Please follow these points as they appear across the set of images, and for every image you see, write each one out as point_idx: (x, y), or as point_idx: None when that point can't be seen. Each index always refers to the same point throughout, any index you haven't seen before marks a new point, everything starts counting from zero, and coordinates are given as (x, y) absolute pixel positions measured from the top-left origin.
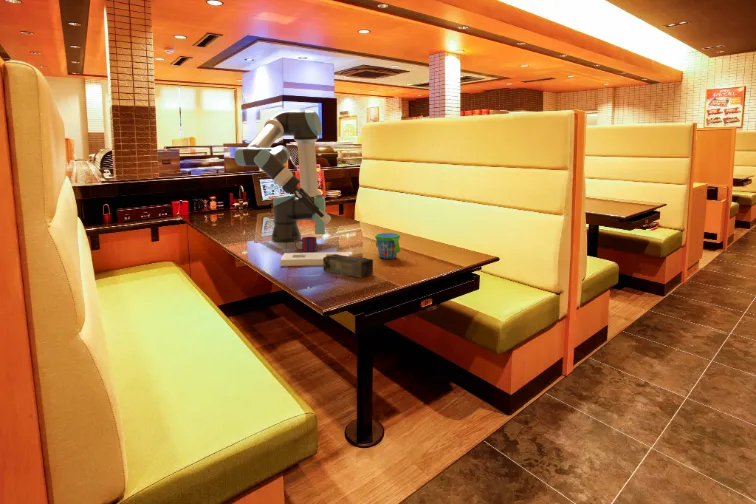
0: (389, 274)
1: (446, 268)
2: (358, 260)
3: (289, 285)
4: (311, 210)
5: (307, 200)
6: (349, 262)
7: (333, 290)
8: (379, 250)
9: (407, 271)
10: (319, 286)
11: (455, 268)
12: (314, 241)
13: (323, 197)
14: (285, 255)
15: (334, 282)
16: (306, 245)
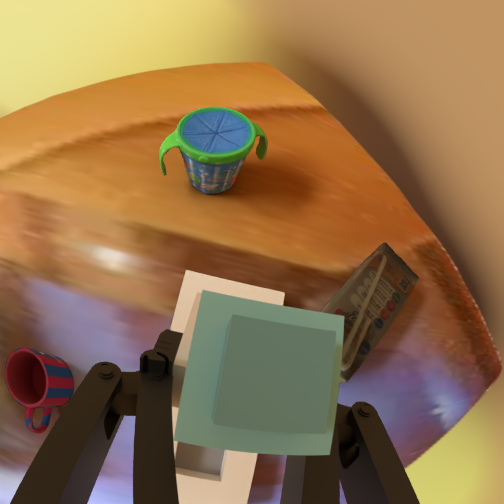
0: (371, 227)
1: (332, 127)
2: (406, 281)
3: (418, 453)
4: (356, 452)
5: (409, 501)
6: (402, 306)
7: (454, 359)
8: (219, 182)
9: (351, 187)
10: (435, 389)
11: (333, 119)
12: (50, 364)
13: (281, 314)
14: (178, 497)
15: (418, 357)
16: (57, 398)
